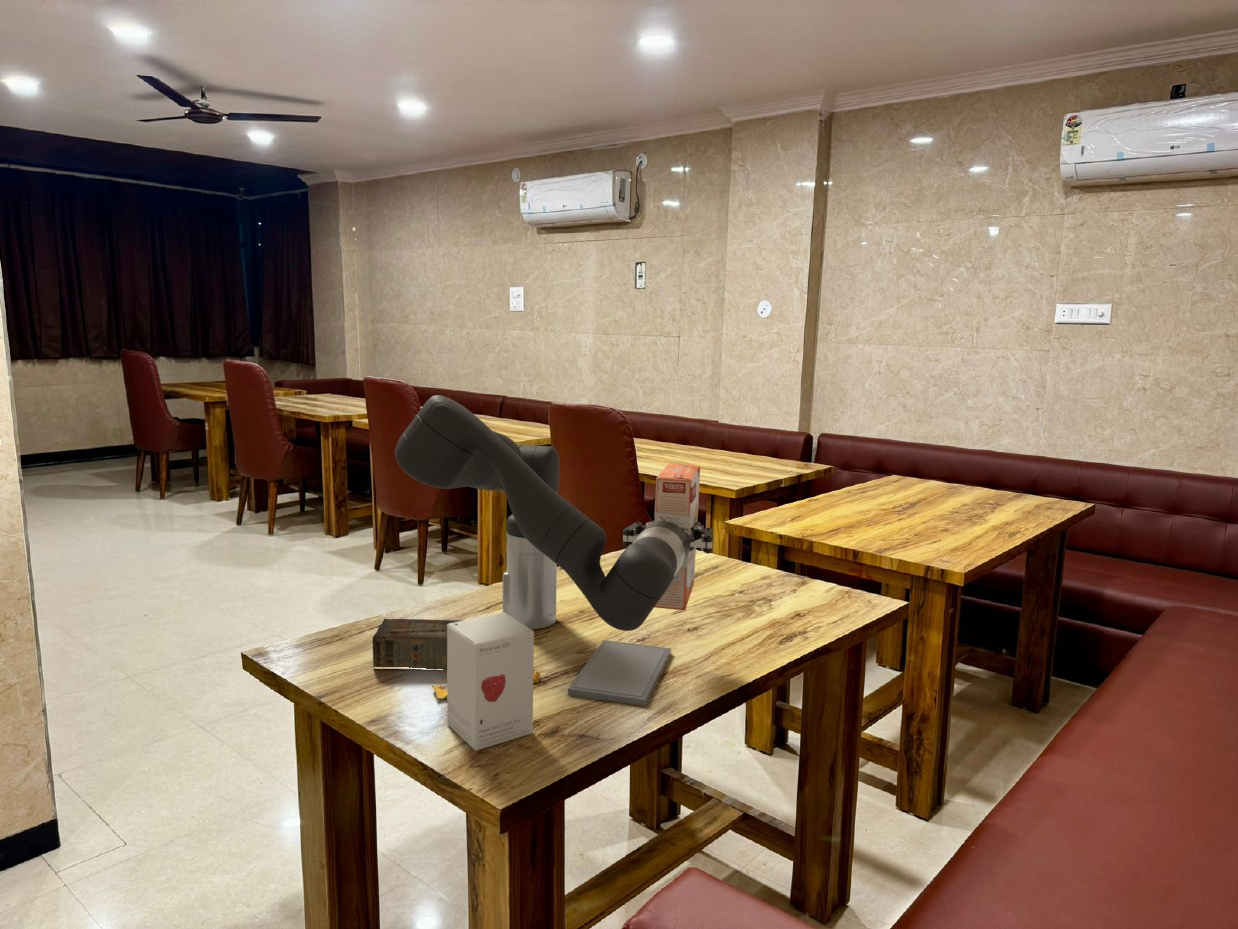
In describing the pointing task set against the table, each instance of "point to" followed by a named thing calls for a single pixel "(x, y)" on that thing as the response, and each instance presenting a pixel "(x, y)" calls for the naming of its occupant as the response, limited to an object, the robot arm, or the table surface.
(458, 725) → the supplement box
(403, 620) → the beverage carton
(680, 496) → the cracker box
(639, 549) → the robot arm
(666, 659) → the slate board
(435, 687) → the candy bar
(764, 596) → the table surface
